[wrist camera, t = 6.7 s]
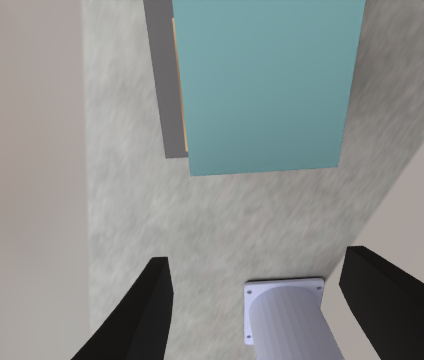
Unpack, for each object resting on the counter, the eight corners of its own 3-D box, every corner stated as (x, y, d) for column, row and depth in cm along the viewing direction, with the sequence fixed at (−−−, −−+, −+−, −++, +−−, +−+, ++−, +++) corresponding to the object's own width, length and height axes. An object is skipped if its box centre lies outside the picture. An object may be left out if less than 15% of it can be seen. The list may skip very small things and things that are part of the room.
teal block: (289, 133, 11) (337, 167, 7) (196, 139, 11) (190, 176, 7) (298, 22, 9) (368, -18, 5) (186, 29, 9) (171, -4, 5)
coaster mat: (295, 149, 18) (296, 150, 18) (166, 156, 18) (165, 158, 18) (309, -11, 14) (312, -13, 14) (144, -1, 14) (142, -3, 14)
